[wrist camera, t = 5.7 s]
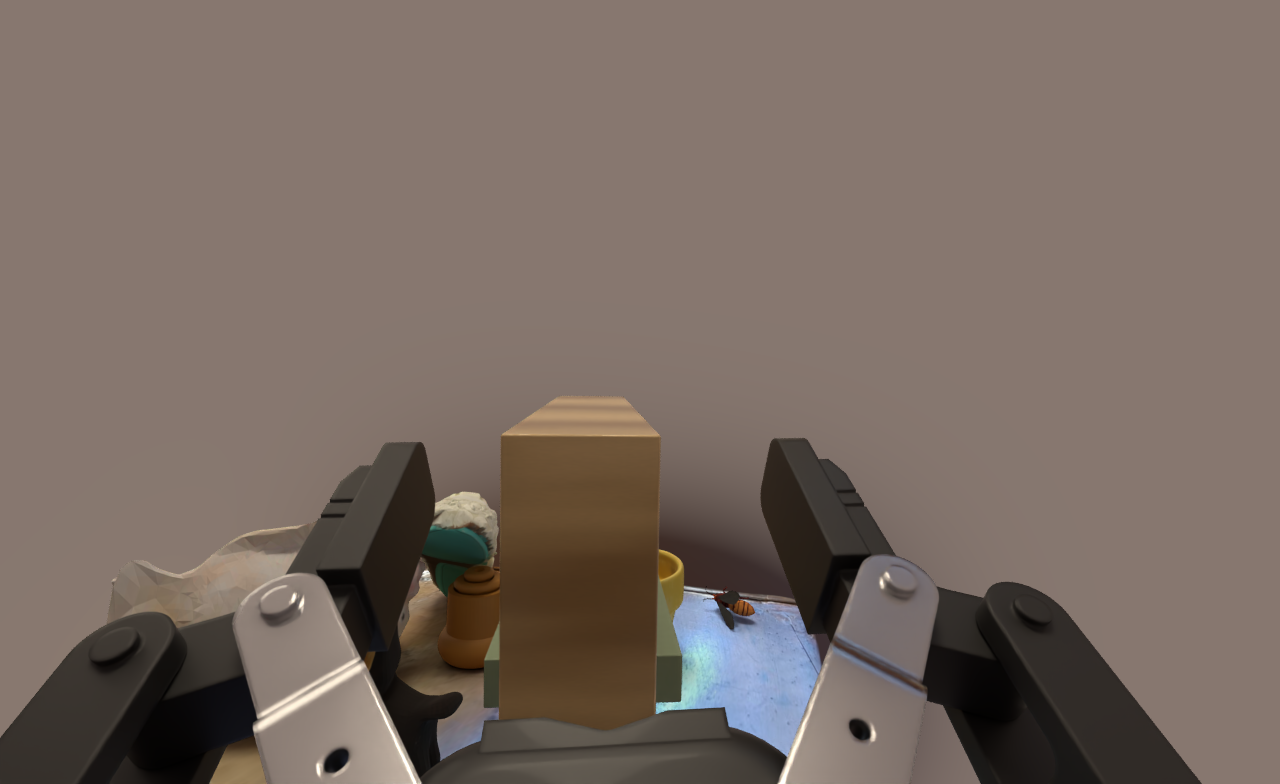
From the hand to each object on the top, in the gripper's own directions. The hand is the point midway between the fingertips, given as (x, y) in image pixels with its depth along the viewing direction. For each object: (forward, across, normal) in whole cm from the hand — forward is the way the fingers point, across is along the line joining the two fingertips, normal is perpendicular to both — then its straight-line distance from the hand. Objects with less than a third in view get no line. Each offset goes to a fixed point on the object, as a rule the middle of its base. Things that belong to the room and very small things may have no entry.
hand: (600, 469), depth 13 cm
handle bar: (+5, +1, +13) cm, 14 cm away
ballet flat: (+29, +15, +38) cm, 50 cm away
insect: (+30, -18, +45) cm, 57 cm away
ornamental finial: (+23, +12, +41) cm, 48 cm away
